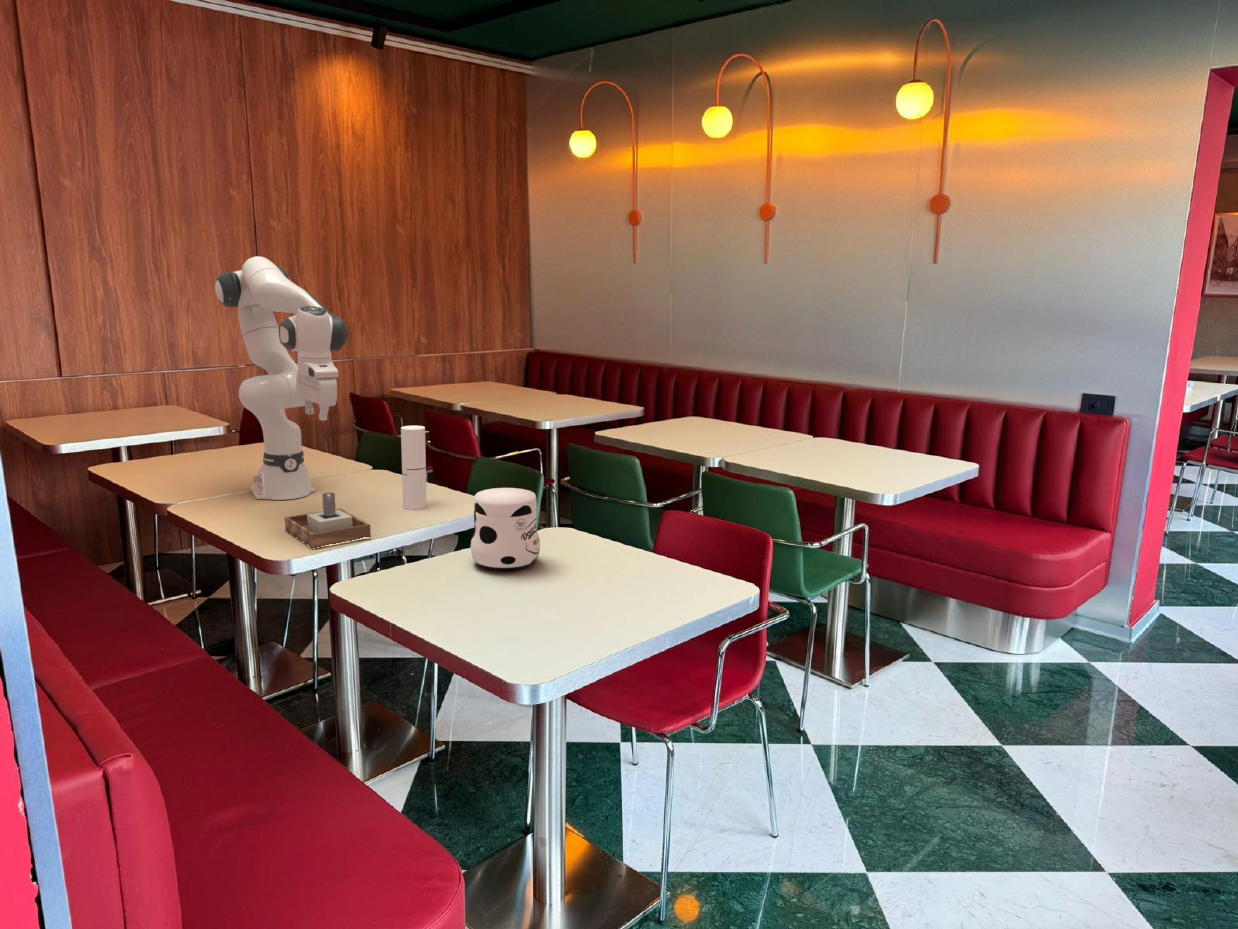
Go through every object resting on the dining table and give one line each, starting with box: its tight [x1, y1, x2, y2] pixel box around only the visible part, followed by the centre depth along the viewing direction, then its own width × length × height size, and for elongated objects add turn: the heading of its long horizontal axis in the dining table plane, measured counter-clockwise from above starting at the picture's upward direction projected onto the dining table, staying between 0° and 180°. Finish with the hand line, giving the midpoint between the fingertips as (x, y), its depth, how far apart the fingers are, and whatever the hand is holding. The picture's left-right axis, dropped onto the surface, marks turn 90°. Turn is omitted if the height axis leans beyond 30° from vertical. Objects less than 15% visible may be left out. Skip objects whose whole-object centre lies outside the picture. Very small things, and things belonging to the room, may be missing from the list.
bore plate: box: [306, 510, 353, 534], centre depth 236 cm, size 9×9×5 cm
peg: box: [322, 491, 337, 519], centre depth 236 cm, size 3×3×11 cm
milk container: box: [470, 487, 541, 571], centre depth 217 cm, size 17×17×18 cm
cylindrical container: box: [400, 425, 428, 511], centre depth 267 cm, size 7×7×25 cm
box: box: [284, 508, 372, 549], centre depth 238 cm, size 20×16×4 cm
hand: (316, 417), depth 240 cm, fingers open, 8 cm apart
